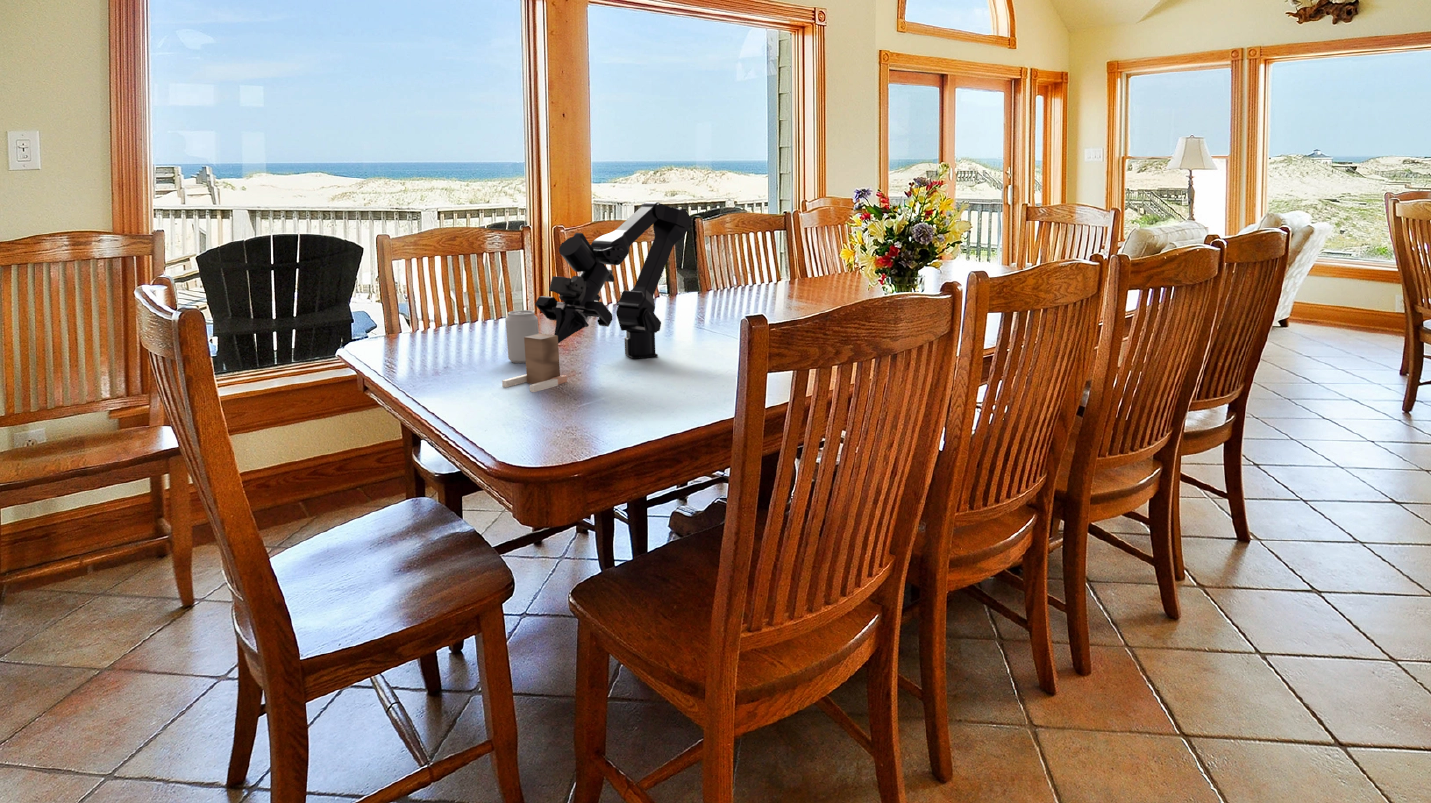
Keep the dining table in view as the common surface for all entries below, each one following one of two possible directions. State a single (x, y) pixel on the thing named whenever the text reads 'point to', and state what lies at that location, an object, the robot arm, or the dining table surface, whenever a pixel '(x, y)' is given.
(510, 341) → the can
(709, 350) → the dining table surface
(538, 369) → the block
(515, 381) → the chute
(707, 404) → the dining table surface
